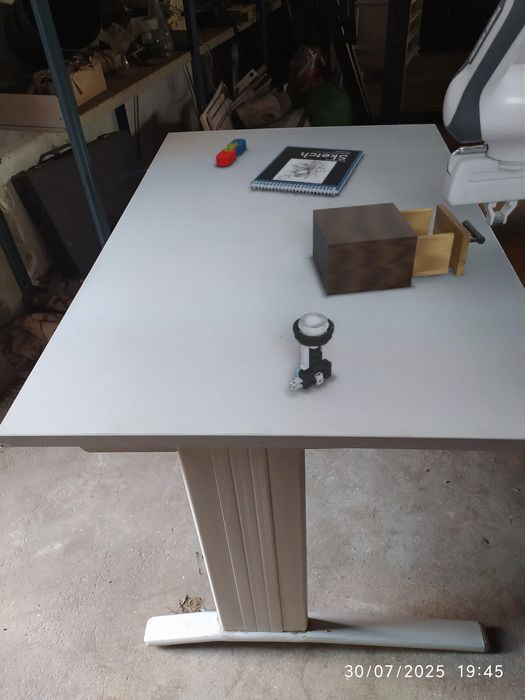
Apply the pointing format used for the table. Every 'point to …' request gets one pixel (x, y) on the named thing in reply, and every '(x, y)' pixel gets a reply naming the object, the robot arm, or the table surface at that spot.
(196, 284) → the table surface
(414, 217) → the wooden pull-out drawer
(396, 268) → the wooden drawer box
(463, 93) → the robot arm
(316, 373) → the push button
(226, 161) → the multicolored plastic bar
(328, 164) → the sketchbook
